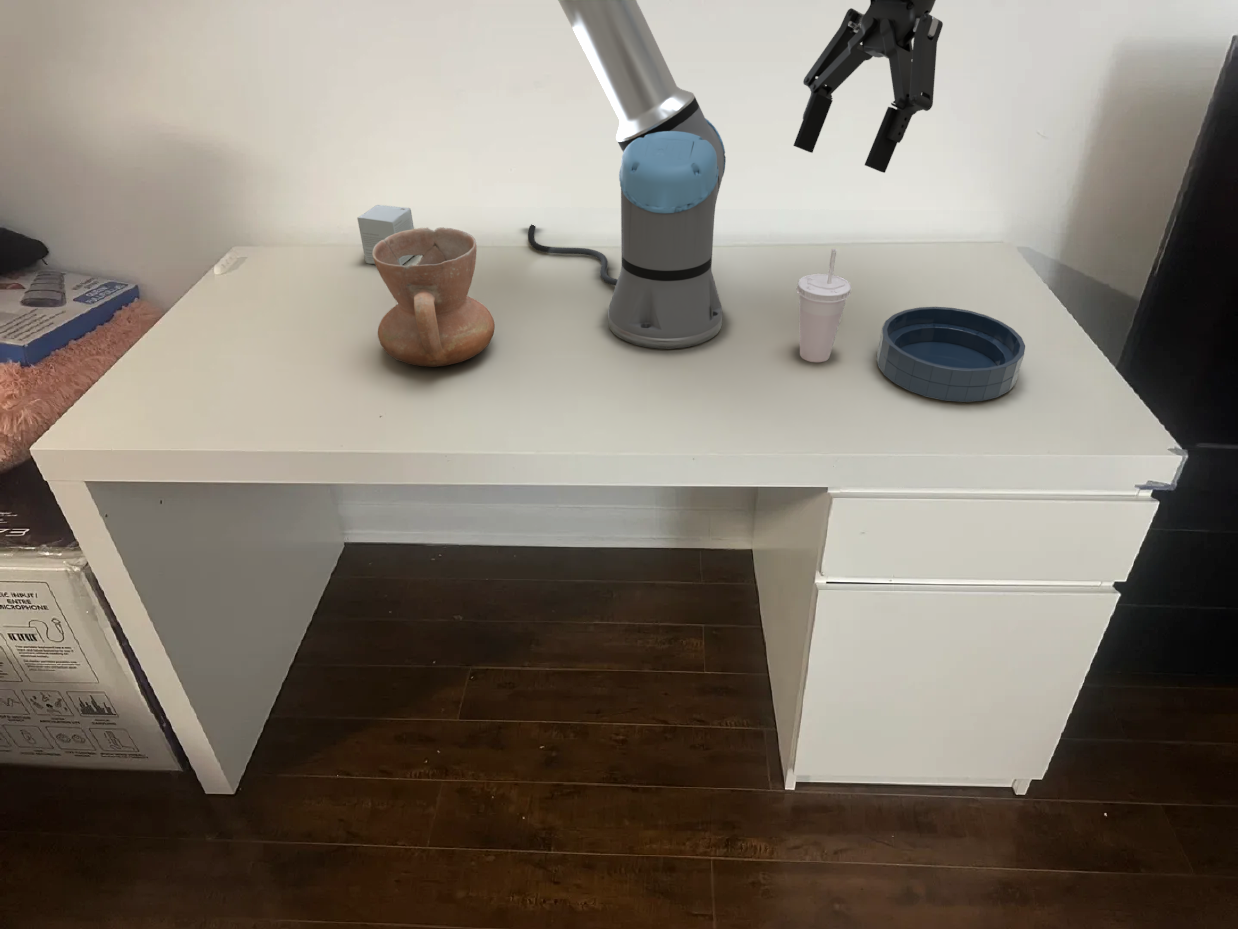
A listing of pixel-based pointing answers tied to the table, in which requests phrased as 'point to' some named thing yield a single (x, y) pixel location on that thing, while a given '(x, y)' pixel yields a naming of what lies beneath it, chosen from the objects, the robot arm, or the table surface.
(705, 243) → the robot arm
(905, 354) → the bowl
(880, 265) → the table surface
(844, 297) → the smoothie
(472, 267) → the ceramic jug
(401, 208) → the product box
